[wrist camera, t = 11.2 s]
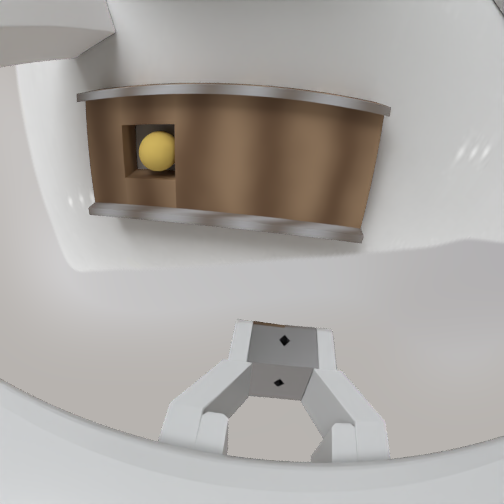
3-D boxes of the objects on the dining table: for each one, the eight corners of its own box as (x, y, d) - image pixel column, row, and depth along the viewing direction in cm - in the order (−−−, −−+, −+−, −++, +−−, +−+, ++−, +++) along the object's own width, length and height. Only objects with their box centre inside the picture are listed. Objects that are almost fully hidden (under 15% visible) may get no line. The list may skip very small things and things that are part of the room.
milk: (103, -9, 20) (-68, -31, 2) (117, 33, 23) (-71, 36, 4) (62, 20, 22) (-104, 34, 3) (74, 60, 24) (-101, 99, 6)
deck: (376, 102, 25) (390, 107, 21) (353, 221, 32) (361, 243, 28) (100, 89, 26) (76, 94, 23) (109, 198, 33) (89, 214, 30)
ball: (173, 135, 25) (131, 136, 25) (175, 176, 27) (134, 177, 27) (182, 127, 29) (144, 128, 28) (183, 164, 31) (146, 164, 31)
